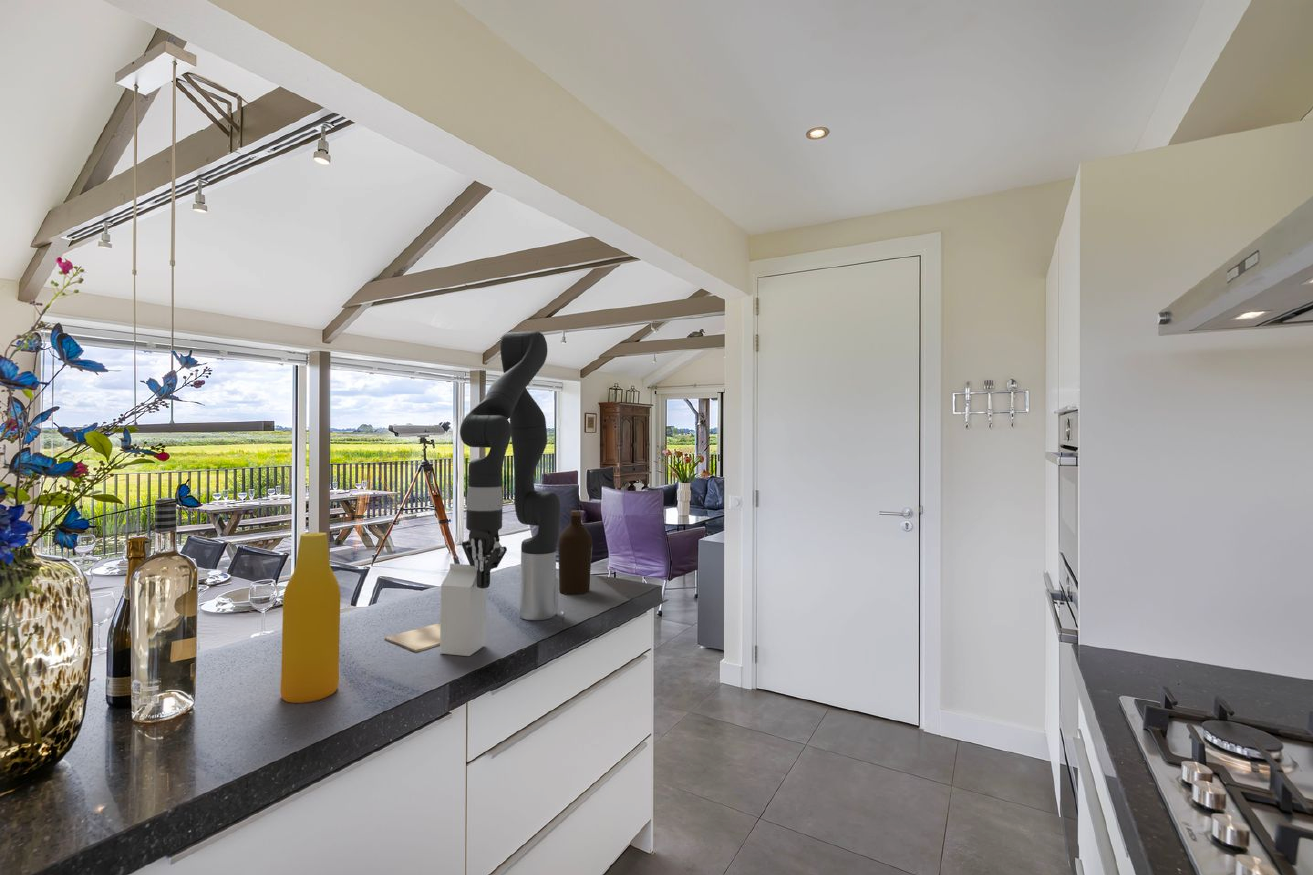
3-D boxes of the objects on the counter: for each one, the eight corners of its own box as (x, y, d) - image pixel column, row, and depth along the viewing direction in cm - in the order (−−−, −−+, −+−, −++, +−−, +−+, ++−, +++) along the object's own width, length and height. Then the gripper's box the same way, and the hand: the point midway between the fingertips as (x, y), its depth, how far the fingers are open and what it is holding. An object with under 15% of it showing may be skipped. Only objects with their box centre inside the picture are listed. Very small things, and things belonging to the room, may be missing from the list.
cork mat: (441, 624, 150) (442, 622, 150) (473, 635, 142) (473, 633, 142) (384, 639, 138) (384, 637, 138) (415, 652, 130) (415, 650, 130)
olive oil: (566, 597, 178) (567, 513, 178) (551, 589, 187) (553, 510, 187) (597, 592, 184) (599, 511, 184) (581, 585, 193) (583, 508, 193)
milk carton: (469, 657, 128) (471, 568, 128) (439, 654, 129) (441, 566, 129) (485, 646, 135) (487, 562, 135) (456, 643, 136) (458, 560, 136)
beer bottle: (267, 701, 105) (271, 537, 105) (306, 680, 114) (310, 529, 114) (313, 706, 103) (317, 539, 103) (349, 685, 112) (353, 531, 112)
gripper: (518, 508, 127) (516, 589, 127) (479, 503, 135) (478, 579, 135) (489, 511, 121) (488, 596, 121) (451, 506, 129) (449, 585, 129)
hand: (483, 587), depth 128 cm, fingers closed
